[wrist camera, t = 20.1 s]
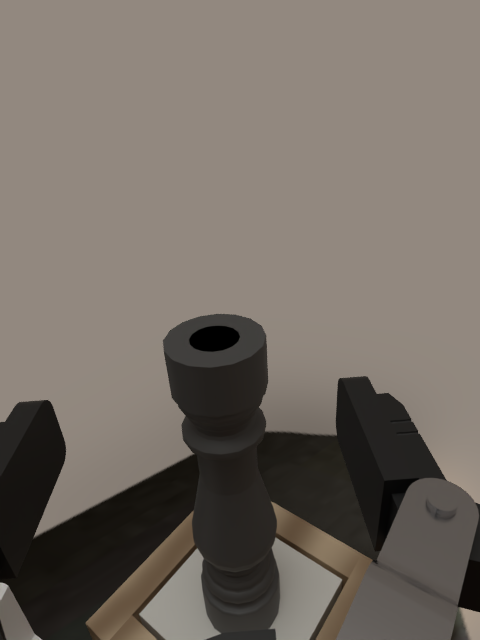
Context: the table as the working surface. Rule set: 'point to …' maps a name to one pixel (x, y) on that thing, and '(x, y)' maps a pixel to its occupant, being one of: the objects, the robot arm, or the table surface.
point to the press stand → (142, 586)
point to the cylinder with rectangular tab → (13, 617)
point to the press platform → (294, 608)
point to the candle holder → (227, 465)
